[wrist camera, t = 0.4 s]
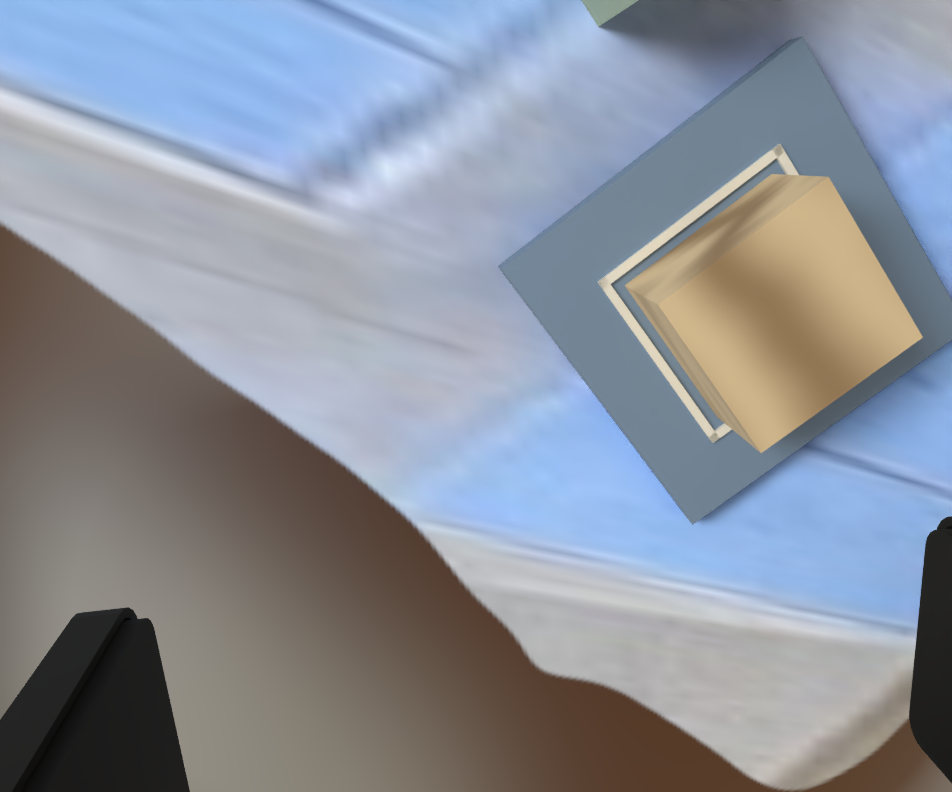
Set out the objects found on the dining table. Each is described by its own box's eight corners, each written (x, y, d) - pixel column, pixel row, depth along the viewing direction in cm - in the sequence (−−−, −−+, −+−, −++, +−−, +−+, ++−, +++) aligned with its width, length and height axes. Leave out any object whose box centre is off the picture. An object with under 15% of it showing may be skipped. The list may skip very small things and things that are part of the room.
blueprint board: (789, 40, 36) (804, 35, 34) (951, 323, 40) (970, 329, 39) (498, 266, 37) (501, 270, 36) (684, 514, 42) (693, 526, 40)
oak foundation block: (771, 173, 36) (828, 176, 31) (857, 314, 38) (923, 337, 33) (624, 285, 37) (657, 304, 32) (716, 416, 39) (761, 453, 34)
